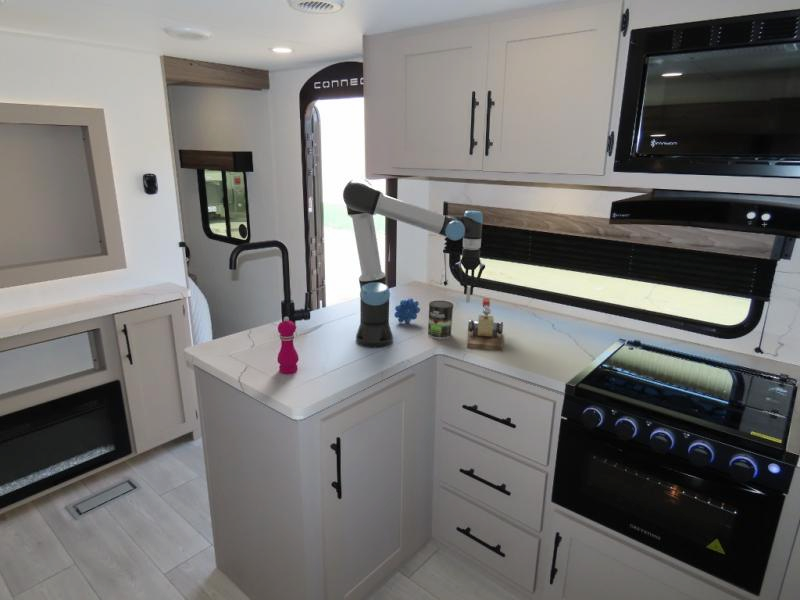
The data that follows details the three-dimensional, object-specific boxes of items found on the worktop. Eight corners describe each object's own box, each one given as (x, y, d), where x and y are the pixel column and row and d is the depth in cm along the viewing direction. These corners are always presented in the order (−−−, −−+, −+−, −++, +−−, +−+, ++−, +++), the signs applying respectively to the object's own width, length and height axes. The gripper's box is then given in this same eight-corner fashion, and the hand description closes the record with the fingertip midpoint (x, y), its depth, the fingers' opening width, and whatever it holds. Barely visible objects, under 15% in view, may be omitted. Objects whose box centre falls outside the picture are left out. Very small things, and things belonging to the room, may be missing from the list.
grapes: (419, 320, 227) (420, 295, 223) (419, 325, 220) (420, 299, 217) (394, 319, 227) (395, 295, 223) (394, 324, 220) (394, 299, 217)
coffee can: (446, 341, 203) (447, 308, 198) (423, 336, 207) (425, 304, 203) (455, 333, 211) (457, 302, 207) (433, 329, 216) (435, 298, 212)
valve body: (467, 336, 202) (469, 314, 199) (467, 331, 208) (469, 309, 205) (501, 339, 200) (504, 316, 197) (501, 334, 206) (503, 312, 203)
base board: (467, 347, 196) (467, 343, 196) (467, 330, 215) (468, 326, 215) (502, 350, 194) (502, 345, 194) (500, 333, 213) (500, 328, 213)
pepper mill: (300, 366, 175) (298, 313, 169) (297, 374, 168) (295, 320, 162) (280, 365, 175) (277, 313, 169) (276, 374, 168) (273, 320, 162)
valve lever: (490, 314, 200) (490, 309, 199) (482, 314, 200) (483, 308, 199) (489, 303, 214) (489, 298, 214) (482, 303, 215) (482, 298, 214)
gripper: (455, 248, 202) (452, 303, 209) (487, 250, 200) (483, 305, 207) (456, 245, 209) (453, 298, 216) (486, 247, 207) (482, 300, 214)
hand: (467, 301), depth 211 cm, fingers closed
